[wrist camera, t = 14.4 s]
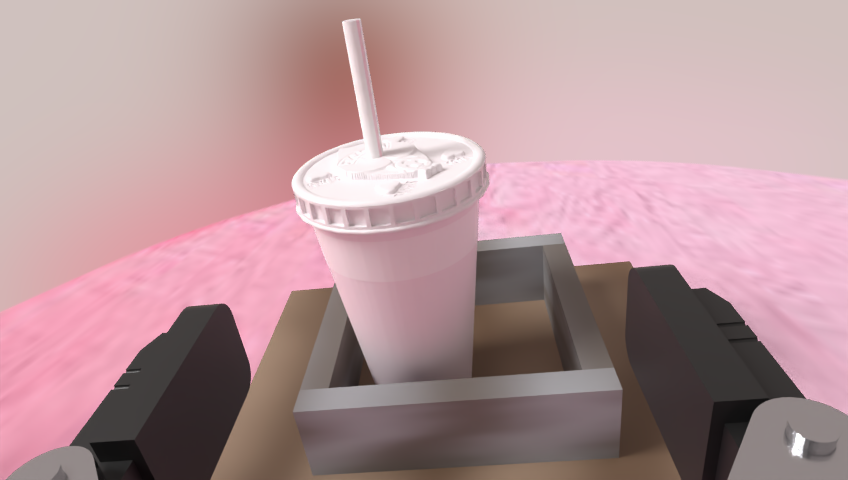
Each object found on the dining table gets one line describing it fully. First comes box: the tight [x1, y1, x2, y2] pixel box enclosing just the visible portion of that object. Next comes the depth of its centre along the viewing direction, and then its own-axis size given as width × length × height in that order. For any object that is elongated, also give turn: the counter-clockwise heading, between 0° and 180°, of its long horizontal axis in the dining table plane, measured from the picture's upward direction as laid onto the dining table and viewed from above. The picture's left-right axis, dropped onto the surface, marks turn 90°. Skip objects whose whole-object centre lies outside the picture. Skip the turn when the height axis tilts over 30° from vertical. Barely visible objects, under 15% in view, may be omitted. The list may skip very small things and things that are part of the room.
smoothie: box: [292, 19, 489, 385], centre depth 19 cm, size 6×6×14 cm
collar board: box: [211, 233, 681, 480], centre depth 23 cm, size 18×14×4 cm
